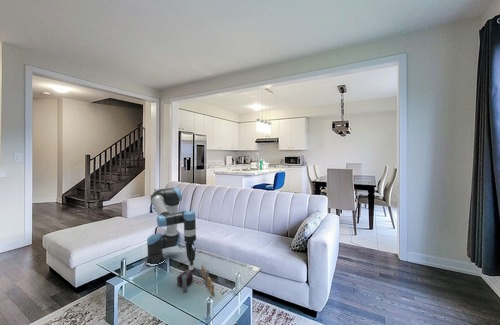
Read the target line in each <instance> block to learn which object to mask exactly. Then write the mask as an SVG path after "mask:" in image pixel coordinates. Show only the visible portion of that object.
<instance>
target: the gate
mask: <svg viewBox="0 0 500 325" xmlns="http://www.w3.org/2000/svg"><path fill="white" fill-rule="evenodd" d="M206 271H207V269H206V268H205V267H204V265H202V266H201V276H202V278H203V280H204V283H206Z"/></svg>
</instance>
